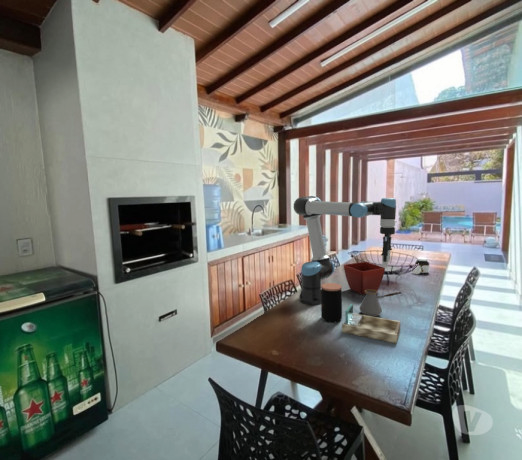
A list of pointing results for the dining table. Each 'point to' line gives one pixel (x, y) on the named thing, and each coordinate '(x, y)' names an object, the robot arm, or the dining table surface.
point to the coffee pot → (372, 303)
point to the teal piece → (352, 317)
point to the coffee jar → (331, 302)
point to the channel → (375, 328)
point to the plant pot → (363, 276)
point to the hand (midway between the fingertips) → (386, 264)
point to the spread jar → (421, 266)
